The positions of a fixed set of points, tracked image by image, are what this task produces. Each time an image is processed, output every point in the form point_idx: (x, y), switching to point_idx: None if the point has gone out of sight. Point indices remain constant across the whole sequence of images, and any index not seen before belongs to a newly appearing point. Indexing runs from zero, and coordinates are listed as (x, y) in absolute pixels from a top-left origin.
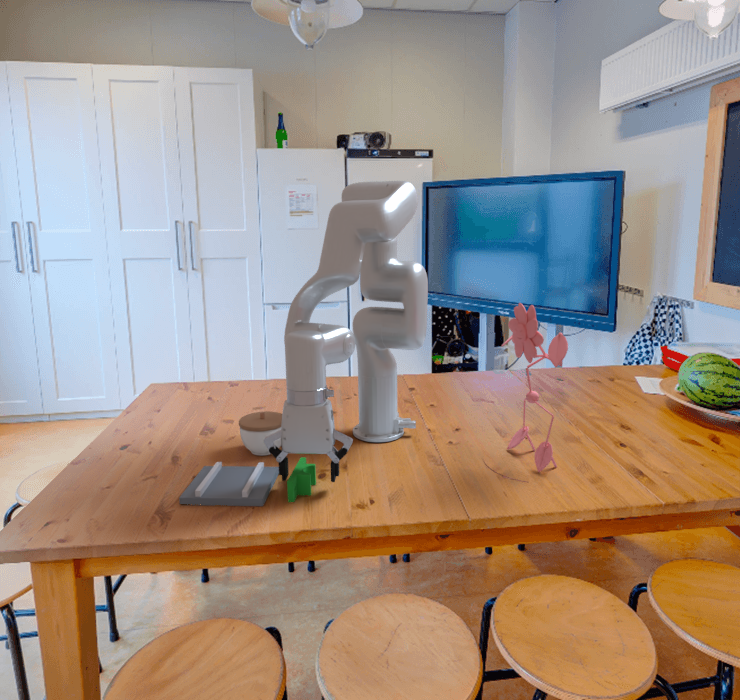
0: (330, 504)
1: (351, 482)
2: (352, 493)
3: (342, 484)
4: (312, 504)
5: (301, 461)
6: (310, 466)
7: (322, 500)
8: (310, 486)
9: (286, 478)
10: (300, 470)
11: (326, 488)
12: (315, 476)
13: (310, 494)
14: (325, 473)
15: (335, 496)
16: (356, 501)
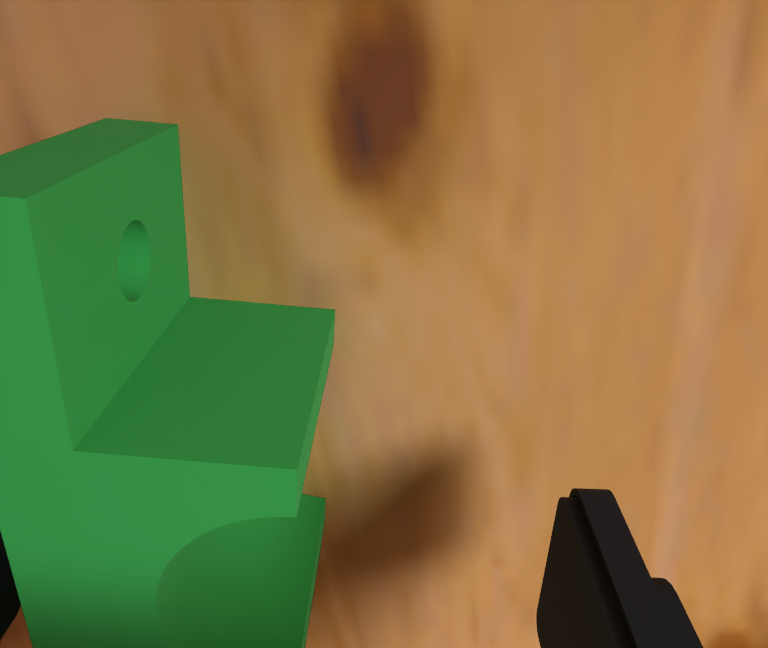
0: (506, 633)
1: (750, 290)
2: (713, 499)
3: (636, 334)
4: (364, 629)
5: (16, 384)
6: (233, 516)
7: (438, 587)
8: (313, 585)
9: (7, 570)
10: (130, 638)
11: (460, 411)
12: (323, 380)
13: (322, 533)
14: (419, 22)
15: (549, 539)
16: (722, 605)
